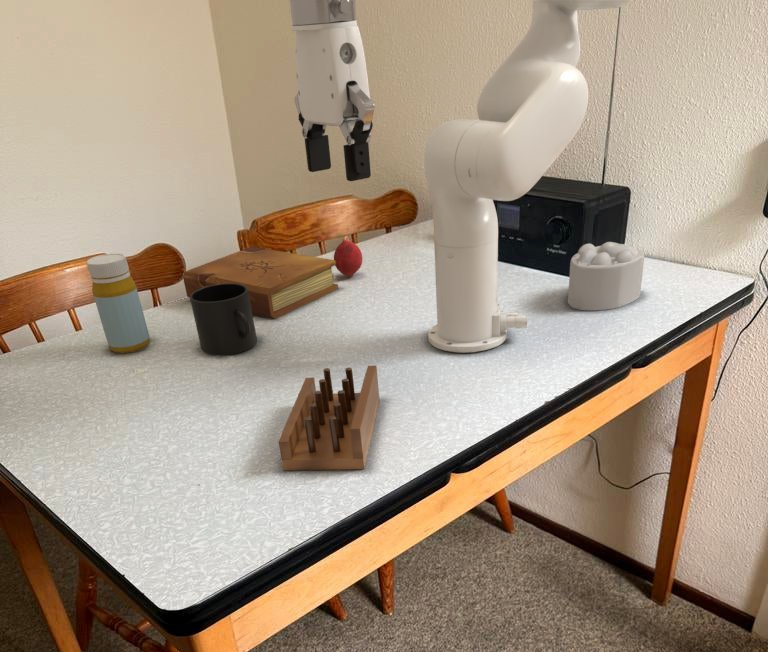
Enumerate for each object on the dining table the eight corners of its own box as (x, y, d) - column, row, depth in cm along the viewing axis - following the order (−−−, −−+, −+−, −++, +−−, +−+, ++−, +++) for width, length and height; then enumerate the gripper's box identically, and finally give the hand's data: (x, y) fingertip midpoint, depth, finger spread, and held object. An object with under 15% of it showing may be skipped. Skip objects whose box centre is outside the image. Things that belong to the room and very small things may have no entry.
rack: (379, 401, 105) (376, 361, 102) (364, 469, 90) (359, 424, 87) (309, 403, 106) (303, 364, 103) (283, 470, 92) (275, 426, 88)
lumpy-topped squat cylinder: (648, 294, 132) (654, 243, 127) (602, 315, 125) (607, 263, 120) (598, 283, 138) (602, 234, 134) (552, 302, 132) (555, 252, 127)
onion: (363, 280, 151) (359, 239, 146) (334, 282, 151) (330, 241, 146) (364, 271, 155) (360, 231, 151) (336, 273, 156) (332, 233, 151)
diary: (188, 302, 148) (181, 272, 145) (256, 274, 160) (251, 246, 157) (271, 320, 136) (266, 288, 133) (338, 288, 148) (335, 259, 144)
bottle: (129, 356, 126) (103, 267, 118) (101, 350, 130) (74, 263, 121) (159, 341, 131) (136, 254, 123) (131, 336, 134) (108, 251, 126)
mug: (229, 365, 120) (217, 310, 115) (191, 347, 128) (178, 294, 123) (277, 346, 125) (268, 292, 120) (237, 330, 133) (227, 279, 128)
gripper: (392, 8, 82) (401, 177, 91) (315, 13, 94) (330, 162, 104) (332, 13, 79) (348, 188, 88) (261, 18, 91) (281, 171, 100)
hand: (338, 174), depth 96 cm, fingers open, 9 cm apart
